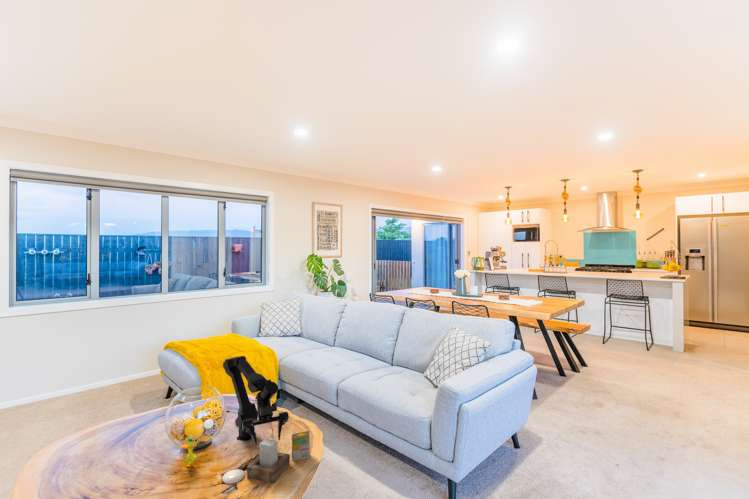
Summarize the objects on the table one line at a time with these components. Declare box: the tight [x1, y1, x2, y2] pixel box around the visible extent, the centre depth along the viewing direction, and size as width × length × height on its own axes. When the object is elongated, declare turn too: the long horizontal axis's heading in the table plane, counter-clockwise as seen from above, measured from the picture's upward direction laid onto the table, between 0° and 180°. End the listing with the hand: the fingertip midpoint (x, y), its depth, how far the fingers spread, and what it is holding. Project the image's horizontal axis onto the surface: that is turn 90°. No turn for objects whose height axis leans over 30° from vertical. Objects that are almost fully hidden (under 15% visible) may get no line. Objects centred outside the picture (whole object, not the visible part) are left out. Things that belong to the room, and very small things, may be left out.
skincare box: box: [258, 438, 279, 468], centre depth 146 cm, size 6×4×12 cm
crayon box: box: [291, 430, 311, 462], centre depth 156 cm, size 7×3×12 cm, turn 111°
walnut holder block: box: [246, 451, 291, 484], centre depth 146 cm, size 12×12×4 cm
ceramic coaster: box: [222, 468, 245, 485], centre depth 143 cm, size 8×8×1 cm
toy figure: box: [179, 436, 197, 468], centre depth 150 cm, size 7×4×12 cm, turn 92°
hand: (267, 442), depth 149 cm, fingers open, 9 cm apart
